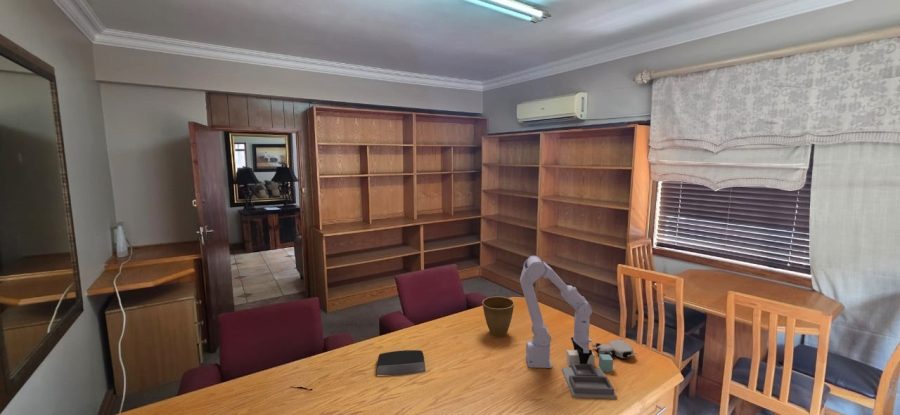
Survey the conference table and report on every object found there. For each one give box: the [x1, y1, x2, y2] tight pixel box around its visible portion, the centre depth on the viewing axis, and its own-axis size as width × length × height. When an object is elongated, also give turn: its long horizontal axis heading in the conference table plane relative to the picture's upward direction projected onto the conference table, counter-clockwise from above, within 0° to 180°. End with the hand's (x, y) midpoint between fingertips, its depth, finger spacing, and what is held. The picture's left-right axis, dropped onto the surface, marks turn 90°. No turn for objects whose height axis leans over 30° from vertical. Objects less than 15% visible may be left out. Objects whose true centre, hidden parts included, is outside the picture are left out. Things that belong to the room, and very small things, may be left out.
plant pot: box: [482, 296, 515, 339], centre depth 174 cm, size 15×15×16 cm
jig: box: [561, 363, 618, 400], centre depth 136 cm, size 15×17×3 cm
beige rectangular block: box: [565, 349, 596, 368], centre depth 149 cm, size 10×4×5 cm, turn 87°
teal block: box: [598, 354, 614, 373], centre depth 145 cm, size 4×4×5 cm
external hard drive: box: [375, 349, 427, 376], centre depth 149 cm, size 13×19×4 cm
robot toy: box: [591, 338, 638, 359], centre depth 156 cm, size 12×4×15 cm
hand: (580, 360), depth 149 cm, fingers open, 7 cm apart
